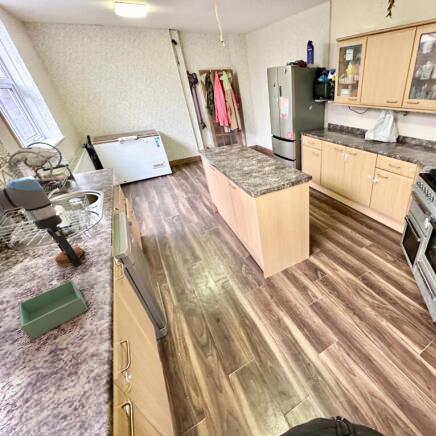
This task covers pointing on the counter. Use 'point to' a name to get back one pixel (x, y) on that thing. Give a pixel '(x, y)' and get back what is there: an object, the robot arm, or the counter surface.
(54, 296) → the green shallow tray
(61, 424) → the counter surface
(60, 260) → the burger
